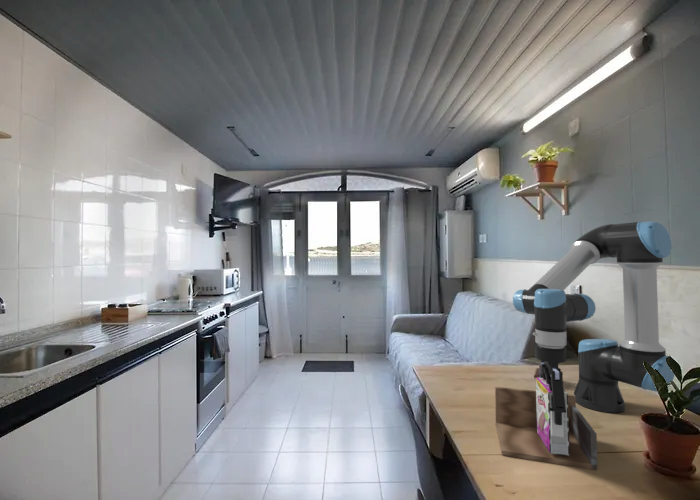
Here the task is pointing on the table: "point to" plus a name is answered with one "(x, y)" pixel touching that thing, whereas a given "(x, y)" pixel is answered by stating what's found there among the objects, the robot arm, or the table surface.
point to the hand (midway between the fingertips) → (551, 425)
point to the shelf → (521, 430)
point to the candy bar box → (544, 420)
